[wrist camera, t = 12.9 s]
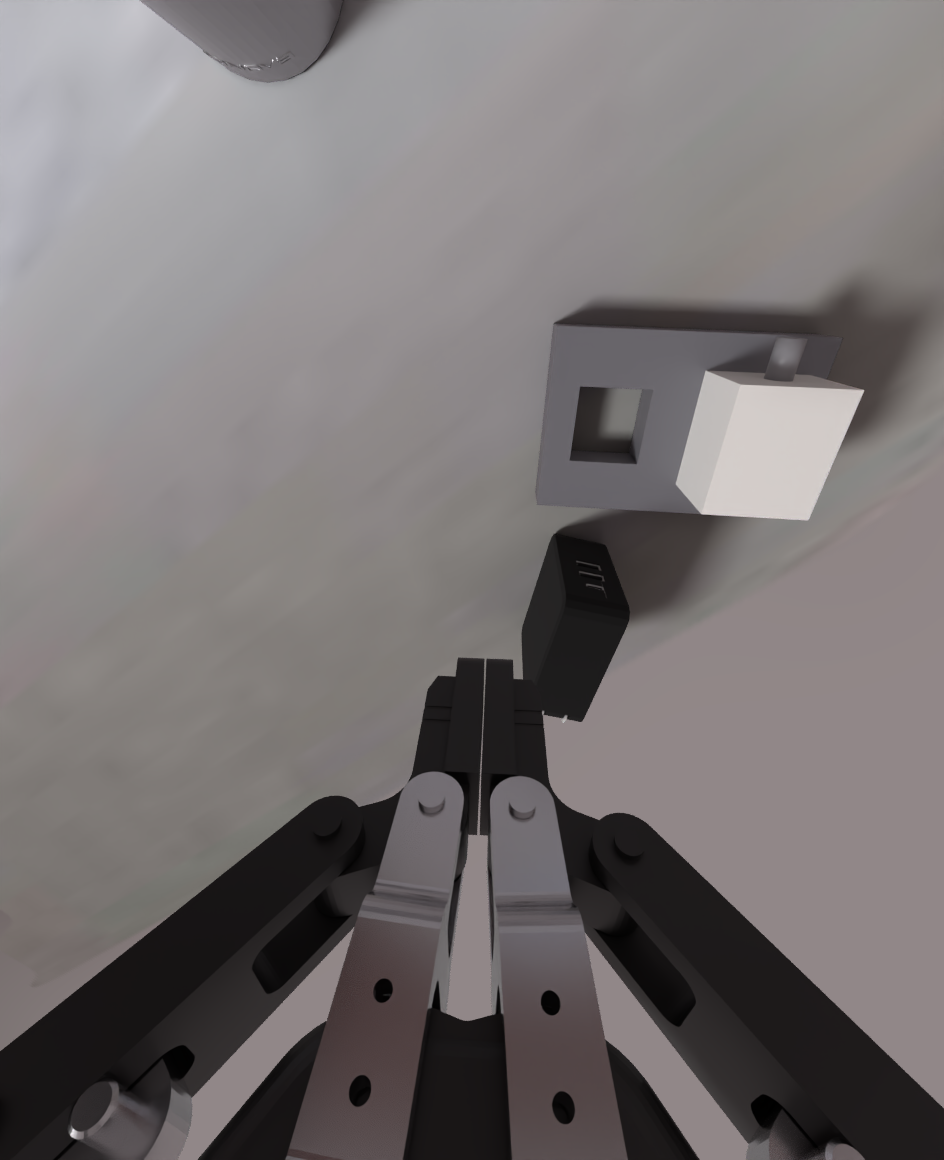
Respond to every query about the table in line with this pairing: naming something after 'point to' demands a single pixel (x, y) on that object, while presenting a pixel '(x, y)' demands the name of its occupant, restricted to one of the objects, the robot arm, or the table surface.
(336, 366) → the table surface
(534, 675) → the electronic device
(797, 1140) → the robot arm
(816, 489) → the plug
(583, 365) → the socket plate
